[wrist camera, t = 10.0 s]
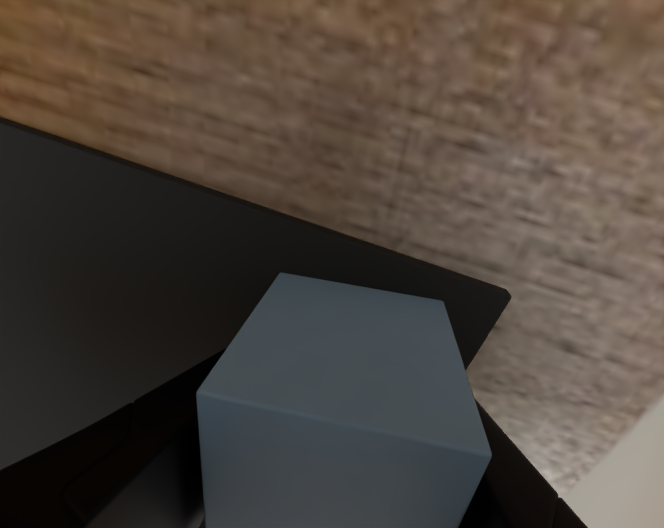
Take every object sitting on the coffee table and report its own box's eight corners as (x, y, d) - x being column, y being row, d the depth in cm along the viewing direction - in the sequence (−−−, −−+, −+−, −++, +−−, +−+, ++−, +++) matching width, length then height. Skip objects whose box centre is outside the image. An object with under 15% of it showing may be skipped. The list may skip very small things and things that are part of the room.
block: (444, 300, 8) (494, 455, 4) (408, 420, 9) (422, 607, 6) (279, 271, 8) (194, 391, 5) (272, 392, 10) (205, 552, 6)
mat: (507, 289, 8) (512, 297, 8) (281, 656, 18) (279, 667, 18) (-115, 78, 8) (-139, 76, 8) (7, 556, 18) (-1, 565, 18)
